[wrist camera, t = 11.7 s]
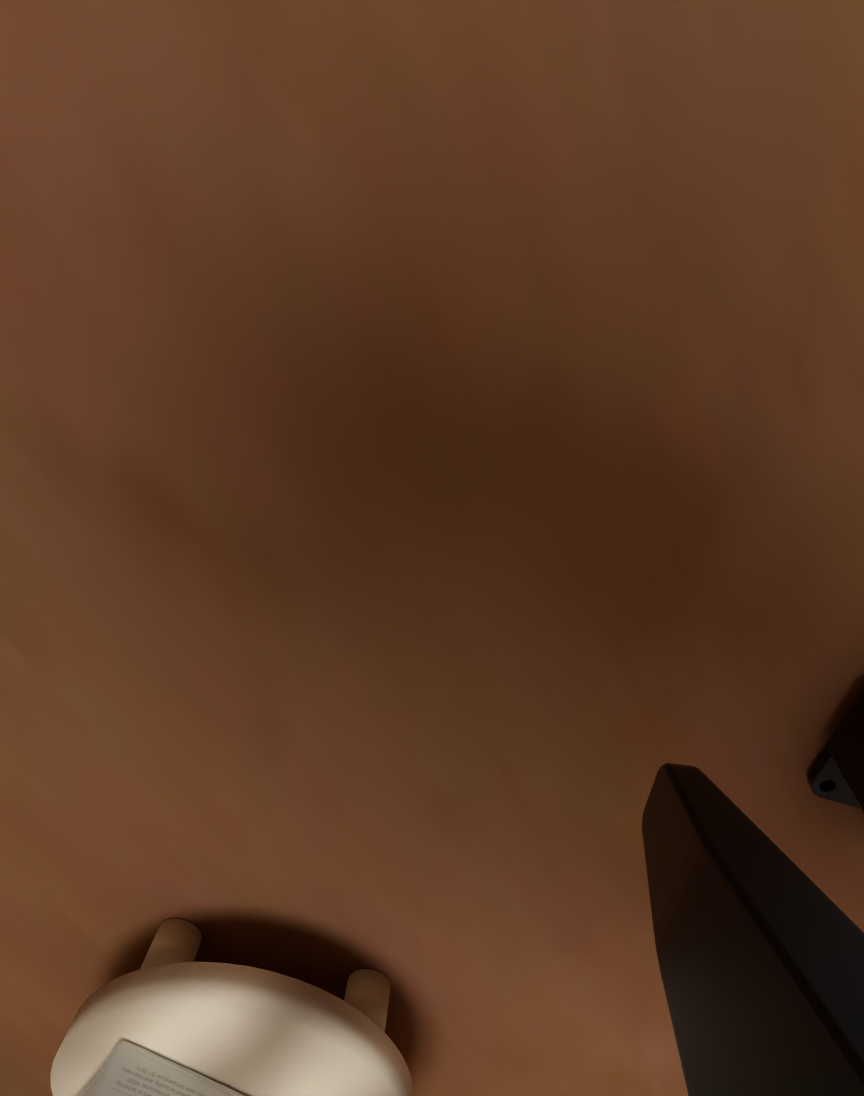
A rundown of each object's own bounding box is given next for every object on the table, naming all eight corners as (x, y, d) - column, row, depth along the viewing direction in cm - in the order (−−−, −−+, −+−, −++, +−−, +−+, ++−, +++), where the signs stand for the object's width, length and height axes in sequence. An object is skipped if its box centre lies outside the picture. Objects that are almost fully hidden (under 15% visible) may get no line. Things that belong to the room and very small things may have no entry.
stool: (459, 957, 30) (454, 1061, 27) (374, 1136, 37) (360, 1241, 33) (115, 865, 30) (62, 960, 26) (87, 1064, 36) (41, 1163, 32)
